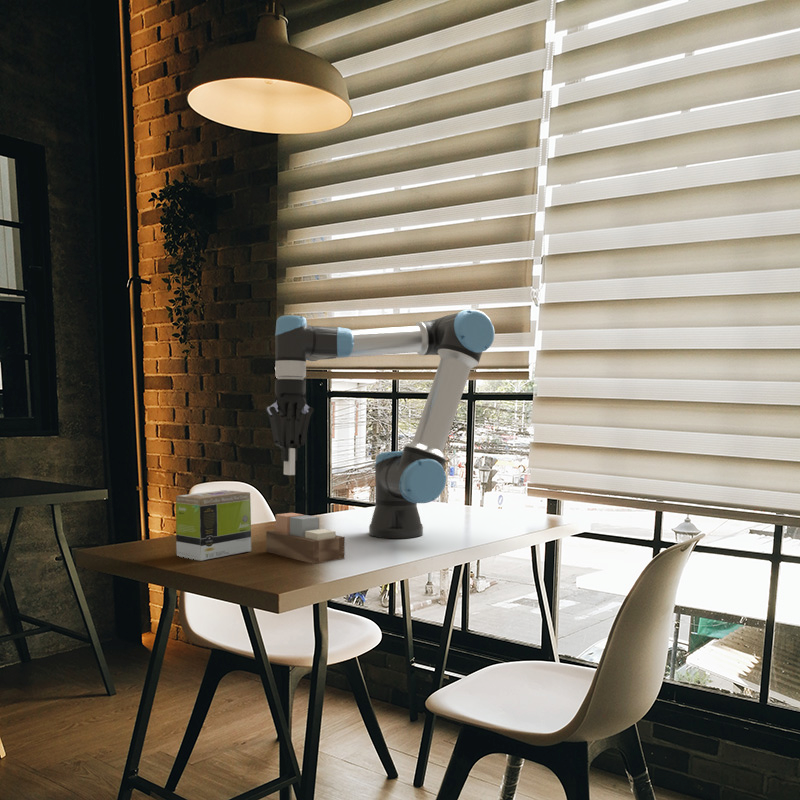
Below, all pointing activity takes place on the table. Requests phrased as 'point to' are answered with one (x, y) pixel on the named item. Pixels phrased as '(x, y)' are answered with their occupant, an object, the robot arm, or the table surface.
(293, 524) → the blue-grey block
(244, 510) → the tea box
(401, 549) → the table surface
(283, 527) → the salmon pink block
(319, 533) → the cream block
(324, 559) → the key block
